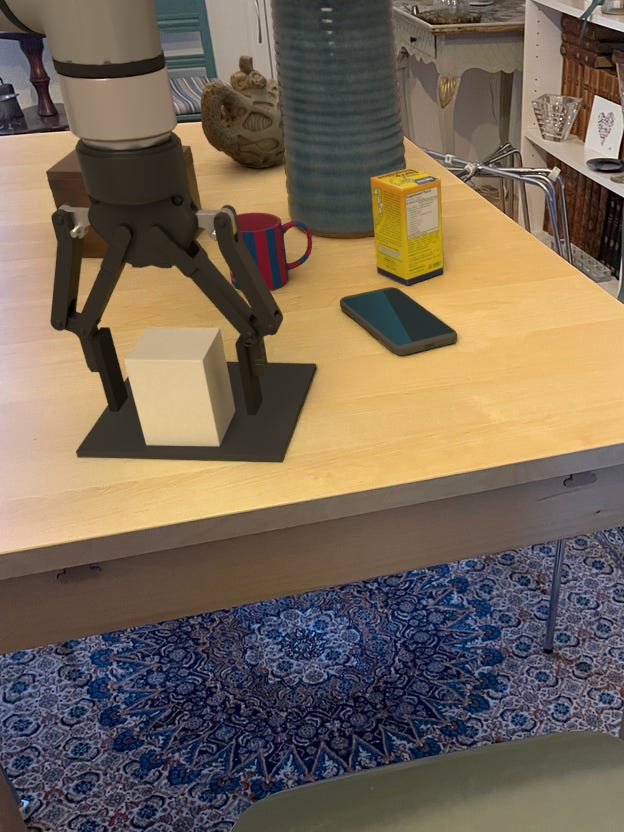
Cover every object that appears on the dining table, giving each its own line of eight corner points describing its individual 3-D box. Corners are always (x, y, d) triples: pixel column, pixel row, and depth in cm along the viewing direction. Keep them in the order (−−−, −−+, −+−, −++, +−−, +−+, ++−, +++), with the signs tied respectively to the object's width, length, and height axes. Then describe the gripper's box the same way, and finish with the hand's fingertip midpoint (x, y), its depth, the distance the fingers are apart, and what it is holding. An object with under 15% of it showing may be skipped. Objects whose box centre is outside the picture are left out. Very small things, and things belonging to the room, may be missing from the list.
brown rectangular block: (69, 257, 117) (44, 171, 110) (102, 224, 126) (81, 143, 119) (180, 259, 117) (163, 173, 110) (205, 227, 126) (190, 145, 119)
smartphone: (396, 293, 109) (396, 285, 108) (461, 341, 99) (461, 333, 99) (336, 306, 106) (335, 298, 105) (397, 357, 96) (397, 349, 96)
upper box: (146, 445, 82) (123, 359, 77) (166, 409, 87) (146, 326, 82) (219, 446, 82) (202, 360, 77) (235, 410, 87) (220, 327, 82)
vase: (284, 205, 133) (248, -74, 111) (397, 197, 136) (384, -77, 115) (296, 245, 121) (259, -59, 100) (420, 235, 124) (410, -62, 103)
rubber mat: (77, 457, 82) (75, 451, 81) (140, 364, 95) (139, 359, 95) (282, 462, 81) (281, 456, 81) (316, 368, 95) (316, 363, 94)
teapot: (261, 145, 155) (246, 39, 145) (322, 152, 152) (312, 44, 142) (186, 181, 141) (164, 66, 131) (253, 190, 138) (235, 73, 127)
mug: (230, 273, 114) (220, 214, 109) (313, 266, 115) (307, 208, 111) (232, 294, 109) (222, 233, 104) (319, 287, 110) (312, 227, 106)
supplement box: (412, 260, 117) (408, 166, 110) (444, 274, 114) (442, 177, 106) (375, 273, 114) (368, 176, 107) (406, 287, 111) (402, 188, 103)
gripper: (297, 124, 71) (327, 389, 86) (-12, 119, 72) (69, 383, 86) (278, 152, 65) (313, 430, 80) (-58, 146, 66) (38, 423, 81)
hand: (187, 406), depth 83 cm, fingers open, 11 cm apart
